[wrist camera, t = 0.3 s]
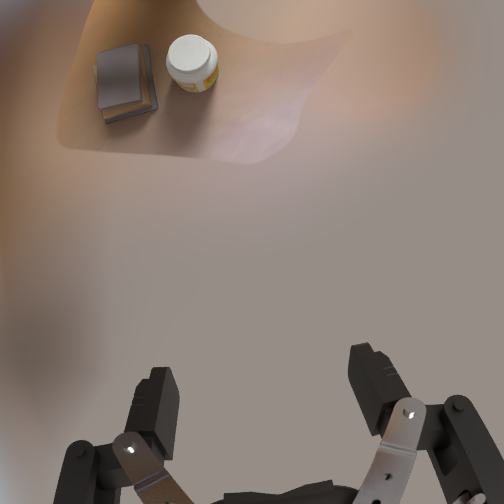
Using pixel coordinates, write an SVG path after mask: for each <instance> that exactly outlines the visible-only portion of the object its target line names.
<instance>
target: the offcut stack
mask: <svg viewBox="0 0 504 504" xmlns="http://www.w3.org/2000/svg"><path fill="white" fill-rule="evenodd" d="M92 66H93V71H94V77H95V82H96V87H97V92H98V108H99V109H101V110H102V114H103V118H104V119H105V123H106V124H108V123H111V122H114V121H117V120H120V119H124V118H127V117H130V116H134V115H137V114H141V113H144V112H148V111H152V110H155V109H158V105H157V99H156V93H155V87H154V80H153V74H152V67H151V60H150V53H149V46H148V45H144V46H141V47H140V45H139V44H138V43H136V44H132V45H128V46H123V47H119V48H116V49H112V50H108V51H105V52H101V53H98V54H97V63H95V64H93V65H92Z"/></svg>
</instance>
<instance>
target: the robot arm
mask: <svg viewBox="0 0 504 504" xmlns="http://www.w3.org/2000/svg"><path fill="white" fill-rule="evenodd" d="M348 378H349V382H350V384H351V387H352V389H353V391H354V394H355V396H356V398H357V401H358V403H359V406H360V408H361V410H362V413H363V415H364V418H365V420H366V423H367V425H368V428H369V430H370V433H371V435H372V436H375V435H378V434H380V436H381V438H382V440H381V443H380V445H379V448H378V450H377V452H376V455H375V457H374V459H373V462H372V464H371V466H370V468H369V470H368V473H367V475H366V477H365V479H364V481H363V483H362V485H361V487H360V489H359V490H357V489H354V488H351V487H346V486H339V485H333V482H332V480H328V481H323V482H318V483H313V484H307V485H304V486H301V487H299V488H296V489H294V490H291V491H288V492H285V493H283V494H278V495H276V494H265V493H256V492H241V493H224V499H223V500H219V501H217V502H214V503H212V504H399V503H400V500H401V498H402V495H403V493H404V490H405V487H406V485H407V482H408V479H409V476H410V474H411V471H412V468H413V465H414V462H415V459H416V455H417V452H416V450H427V452H428V454H429V457H430V459H431V462H432V464H433V467H434V469H435V471H436V474H437V477H438V480H439V482H440V485H441V487H442V490H443V493H444V496H445V498H446V501H447V504H504V460H503V458H502V456H501V454H500V452H499V450H498V448H497V447H496V445H495V443H494V441H493V439H492V437H491V436H490V434H489V432H488V430H487V428H486V427H485V425H484V423H483V421H482V419H481V418H480V416H479V414H478V412H477V411H476V409H475V407H474V406H473V404H472V402H471V401H470V400H469V399H468V398H467V397H465V396H462V395H453V396H450V397H449V398H448V399H447V400H446V401H445V403H444V404H438V405H424V403H423V402H422V401H420V400H419V399H416V398H412V396H411V395H410V393H409V391H408V390H407V388H406V386H405V385H404V383H403V381H402V380H401V378H400V376H399V374H397V371H396V369H395V368H394V367H393V364H392V363H391V361H390V359H389V358H388V357H387V356H386V355H385V354H383V353H382V352H381V351H378V352H374V351H373V350H372V348H371V346H370V344H369V343H362V344H357V345H352V346H351V350H350V358H349V365H348ZM178 409H179V391H178V388H177V385H176V382H175V380H174V377H173V375H172V371H171V369H170V367H153V368H152V370H151V374H150V378H149V379H142V380H141V382H140V383H139V384H138V385H137V387H136V390H135V393H134V398H133V400H132V405H131V408H130V412H129V415H128V419H127V423H126V426H125V430H124V433H121V434H120V435H118V436H117V437H116V438H115V439H114V441H113V443H110V444H105V445H100V446H93V445H92V444H91V443H90V442H88V441H85V440H78V441H75V442H73V443H72V444H71V445H70V446H69V447H68V448H67V451H66V454H65V457H64V461H63V465H62V469H61V473H60V476H59V480H58V485H57V489H56V493H55V498H54V502H53V504H119V503H120V495H121V487H127V486H132V485H134V490H135V492H136V493H137V495H138V496H139V498H140V499H141V501H142V502H143V504H194V503H193V502H192V500H191V499H190V498H189V497H188V496H187V495H186V493H185V492H184V491H183V490H182V489H181V487H180V486H179V485H178V484H177V483H176V481H175V480H174V479H173V478H172V476H171V475H170V474H169V472H168V471H167V470H166V469H165V468H164V460H172V459H173V450H174V449H173V448H174V441H175V433H176V425H177V417H178Z"/></svg>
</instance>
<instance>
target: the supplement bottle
mask: <svg viewBox="0 0 504 504" xmlns="http://www.w3.org/2000/svg"><path fill="white" fill-rule="evenodd" d="M166 67H167V70H168V72H169V74H170V75H171V77H172V78H173V79H174V80H175V81H176V83H177V84H178V85H179V86H180V87H181V88H182V89H184V90H185V91H188V92H193V93H197V92H202V91H205V90H207V89H209V88H210V87H211V86H212V85H213V84H214V83H215V81H216V79H217V77H218V57H217V52H216V50H215V48H214V46H213V45H212V44H211V43H210V42H208V41H207V40H205V39H203V38H202V37H200V36H198V35H184V36H181V37H179V38H178V39H176V40H175V41H174V42H173V43H172V44H171V46H170V48H169V50H168V54H167V58H166Z"/></svg>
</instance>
